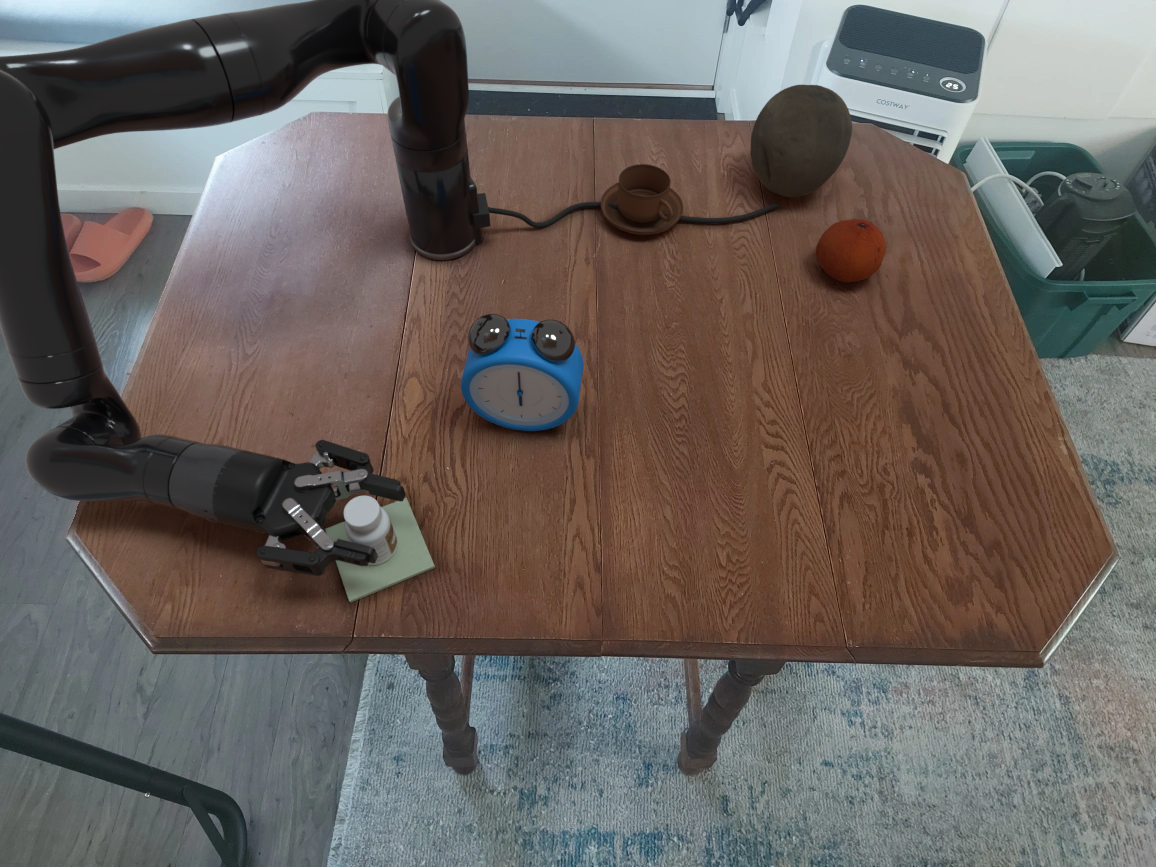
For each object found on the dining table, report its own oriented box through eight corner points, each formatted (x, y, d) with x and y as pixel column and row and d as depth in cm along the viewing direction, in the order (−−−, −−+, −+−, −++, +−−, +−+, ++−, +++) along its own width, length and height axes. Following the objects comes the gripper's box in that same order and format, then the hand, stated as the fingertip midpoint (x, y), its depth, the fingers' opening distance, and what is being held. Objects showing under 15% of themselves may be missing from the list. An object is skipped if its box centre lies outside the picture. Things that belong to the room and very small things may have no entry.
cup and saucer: (695, 208, 113) (702, 173, 108) (656, 253, 107) (661, 218, 102) (626, 180, 116) (629, 144, 111) (584, 222, 110) (586, 186, 105)
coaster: (407, 499, 83) (406, 497, 82) (435, 567, 78) (434, 565, 78) (326, 530, 80) (324, 528, 80) (350, 603, 76) (349, 601, 75)
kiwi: (841, 216, 112) (876, 124, 100) (746, 214, 112) (770, 121, 100) (823, 158, 121) (853, 67, 108) (735, 156, 120) (755, 64, 108)
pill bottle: (405, 552, 79) (392, 516, 72) (366, 573, 77) (349, 538, 71) (387, 521, 81) (373, 483, 74) (348, 540, 79) (330, 504, 73)
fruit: (847, 242, 109) (866, 196, 102) (886, 282, 104) (908, 236, 98) (796, 259, 107) (812, 213, 100) (834, 300, 102) (854, 255, 96)
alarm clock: (465, 427, 88) (451, 341, 76) (475, 386, 92) (463, 298, 80) (576, 439, 88) (580, 354, 76) (582, 397, 91) (586, 309, 79)
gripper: (179, 530, 68) (351, 573, 66) (255, 408, 76) (411, 443, 75) (210, 566, 75) (368, 606, 73) (278, 449, 83) (422, 483, 81)
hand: (389, 523), depth 74 cm, fingers open, 6 cm apart
